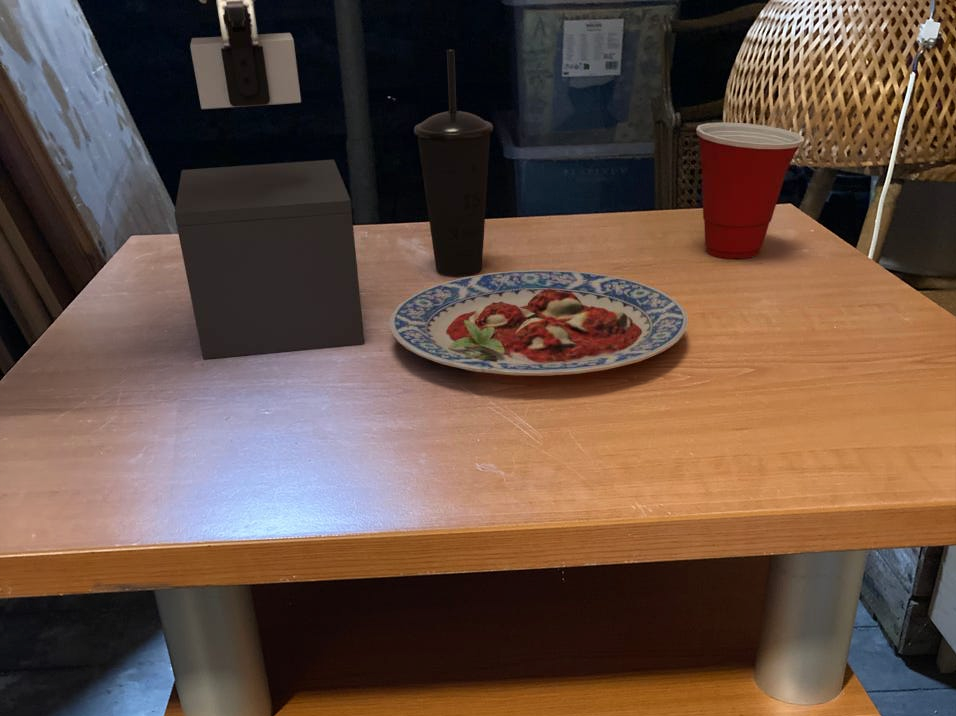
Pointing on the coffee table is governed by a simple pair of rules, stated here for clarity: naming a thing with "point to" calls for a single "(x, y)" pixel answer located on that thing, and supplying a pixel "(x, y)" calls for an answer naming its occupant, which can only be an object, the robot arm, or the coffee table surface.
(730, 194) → the plastic cup
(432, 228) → the drinking cup
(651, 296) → the ceramic plate
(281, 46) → the light gray rectangular block
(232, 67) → the robot arm
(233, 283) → the dark lidded cube box
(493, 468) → the coffee table surface
